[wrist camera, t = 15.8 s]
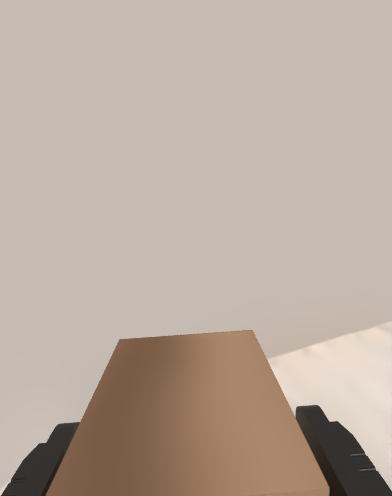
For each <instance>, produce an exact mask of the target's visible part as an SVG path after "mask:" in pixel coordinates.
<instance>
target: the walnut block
mask: <svg viewBox="0 0 392 496" xmlns="http://www.w3.org/2000/svg"><path fill="white" fill-rule="evenodd" d="M329 489H330V488H329V486H328V484H327V482H326V480H325V478H324V476H323V473H322V471H321V469H320V467H319V465H318V463H317V461H316V459H315V457H314V455H313V453H312V451H311V449H310V447H309V445H308V443H307V441H306V439H305V437H304V435H303V433H302V431H301V428H300V426H299V424H298V422H297V420H296V418H295V416H294V414H293V412H292V410H291V408H290V406H289V404H288V402H287V400H286V398H285V396H284V394H283V392H282V390H281V388H280V385H279V383H278V381H277V379H276V377H275V375H274V373H273V371H272V369H271V367H270V365H269V363H268V361H267V359H266V357H265V355H264V353H263V351H262V349H261V347H260V345H259V343H258V340H257V339H256V337H255V334H254V332H253V331H252V330H244V331H231V332H217V333H203V334H189V335H174V336H161V337H147V338H134V339H120V340H119V342H118V344H117V346H116V348H115V350H114V352H113V355H112V356H111V359H110V361H109V363H108V365H107V367H106V369H105V371H104V373H103V375H102V378H101V380H100V382H99V384H98V386H97V388H96V390H95V392H94V394H93V397H92V399H91V401H90V403H89V405H88V407H87V410H86V411H85V414H84V416H83V418H82V420H81V422H80V424H79V426H78V428H77V430H76V433H75V435H74V437H73V439H72V441H71V443H70V445H69V447H68V449H67V452H66V454H65V456H64V458H63V460H62V462H61V464H60V466H59V469H58V471H57V473H56V475H55V477H54V479H53V481H52V483H51V485H50V488H49V490H48V492H47V494H46V496H329Z"/></svg>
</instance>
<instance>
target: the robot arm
mask: <svg viewBox="0 0 392 496" xmlns="http://www.w3.org/2000/svg"><path fill="white" fill-rule="evenodd" d="M296 420H297V422H298V424H299V426H300V428H301V431H302V433H303V435H304V437H305V439H306V441H307V443H308V445H309V447H310V449H311V451H312V453H313V455H314V457H315V459H316V461H317V463H318V465H319V467H320V469H321V471H322V473H323V476H324V478H325V480H326V482H327V484H328V486H329V488H330V489H329V496H392V491H391V489H390V488H389V487H388V485H387V484H386V482H385V481H384V479H383V478H382V476H381V475H380V474H379V472H378V471H376V469H375V466H374V465H373V463H372V462H371V461H370V459H369V458H368V456H366V455H365V452H364V450H363V449H362V447H361V446H360V445H359V443H358V442H357V440H356V439H355V437H354V436H353V435H352V434H351V433H350V432H349V431H348V430H347V429H346V428H344V427H343V426H342V425H341V424H340V423H339V422H338V421H335V422H329V420H328V419H327V417H326V416H325V414H324V412H323V411H322V409H321V408H320V407H319V406H318V405H310V406H298V407H297V408H296ZM79 424H80V422H76V423H64V424H58V425H57V426H56V427H55V429H54V430H53V432H52V434H51V435H50V437H49V439H48V441H47V443H40V444H38V445H37V446H36V448H34V449H33V451H32V452H31V453H30V454H29V455H28V456H27V457H26V458H25V459H24V460H23V461H22V463H21V465H20V466H19V468H18V470H17V471H16V473H15V474H14V476H13V477H12V479H11V482H10V483H9V484H8V485H7V487H6V489H5V490H4V492H3V493H2V495H1V496H46V494H47V492H48V490H49V488H50V485H51V483H52V481H53V479H54V477H55V475H56V473H57V471H58V469H59V466H60V464H61V462H62V460H63V458H64V456H65V454H66V452H67V449H68V447H69V445H70V443H71V441H72V439H73V437H74V435H75V433H76V430H77V428H78V426H79Z"/></svg>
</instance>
